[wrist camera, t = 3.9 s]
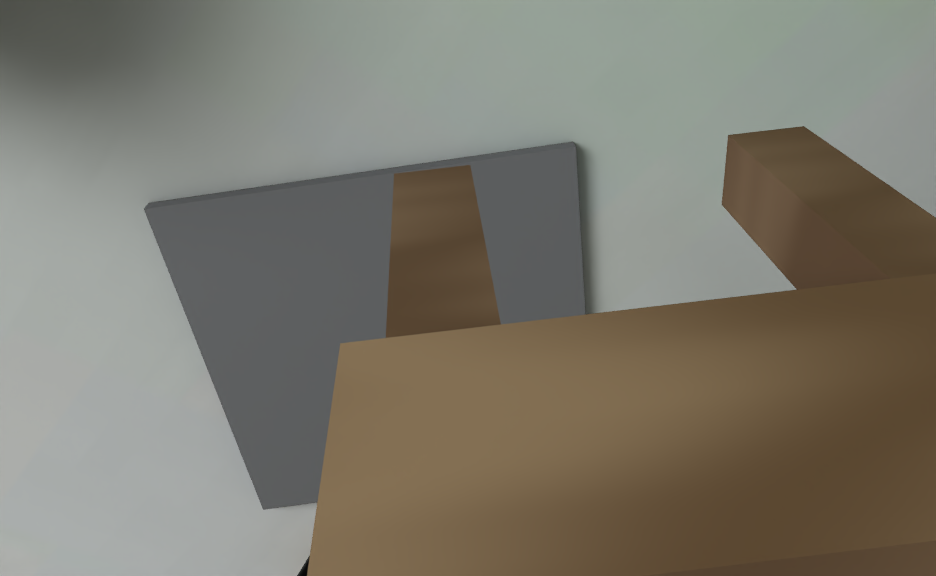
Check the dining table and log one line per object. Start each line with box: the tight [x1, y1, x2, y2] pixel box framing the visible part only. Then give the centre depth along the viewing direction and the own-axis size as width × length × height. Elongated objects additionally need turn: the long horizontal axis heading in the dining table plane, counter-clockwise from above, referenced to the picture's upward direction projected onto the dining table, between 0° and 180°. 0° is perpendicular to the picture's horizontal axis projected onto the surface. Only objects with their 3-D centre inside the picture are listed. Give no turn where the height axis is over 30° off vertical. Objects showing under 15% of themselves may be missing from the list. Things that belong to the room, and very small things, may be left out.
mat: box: [144, 142, 585, 510], centre depth 23 cm, size 12×12×1 cm
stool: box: [307, 126, 936, 576], centre depth 8 cm, size 6×6×7 cm
